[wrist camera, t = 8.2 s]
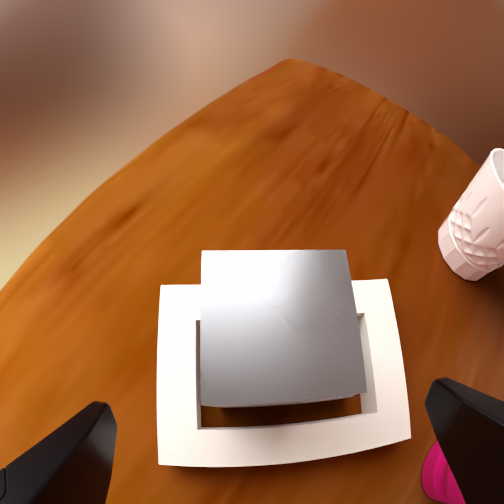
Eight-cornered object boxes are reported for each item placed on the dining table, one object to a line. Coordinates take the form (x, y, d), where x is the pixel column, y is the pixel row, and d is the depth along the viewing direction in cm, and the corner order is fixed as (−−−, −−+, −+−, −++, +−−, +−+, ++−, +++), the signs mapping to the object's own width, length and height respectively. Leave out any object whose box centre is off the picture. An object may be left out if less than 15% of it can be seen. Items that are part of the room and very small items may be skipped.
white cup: (480, 223, 27) (533, 163, 18) (496, 290, 23) (565, 238, 14) (425, 209, 27) (477, 136, 18) (439, 283, 23) (513, 218, 14)
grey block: (342, 398, 18) (478, 365, 7) (220, 407, 18) (200, 405, 6) (337, 342, 20) (449, 249, 9) (218, 347, 20) (201, 250, 8)
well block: (392, 437, 17) (410, 438, 15) (167, 458, 16) (158, 464, 14) (373, 292, 22) (387, 279, 20) (168, 298, 21) (160, 285, 19)
